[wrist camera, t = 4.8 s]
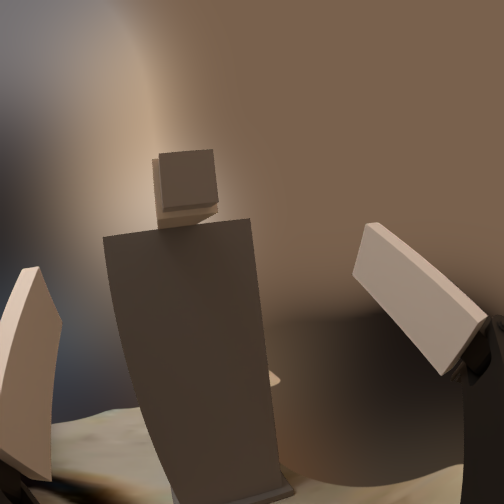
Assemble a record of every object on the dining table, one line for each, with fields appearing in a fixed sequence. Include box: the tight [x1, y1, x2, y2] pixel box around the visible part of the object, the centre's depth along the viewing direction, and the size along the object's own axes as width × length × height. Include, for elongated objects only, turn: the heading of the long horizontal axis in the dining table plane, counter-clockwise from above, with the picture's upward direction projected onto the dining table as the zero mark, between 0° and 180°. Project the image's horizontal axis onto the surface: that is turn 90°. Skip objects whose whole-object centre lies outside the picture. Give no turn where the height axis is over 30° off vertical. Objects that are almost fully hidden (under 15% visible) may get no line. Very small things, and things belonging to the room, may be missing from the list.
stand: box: [103, 218, 294, 504], centre depth 29 cm, size 14×14×32 cm
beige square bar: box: [152, 149, 219, 229], centre depth 26 cm, size 3×28×3 cm, turn 18°
